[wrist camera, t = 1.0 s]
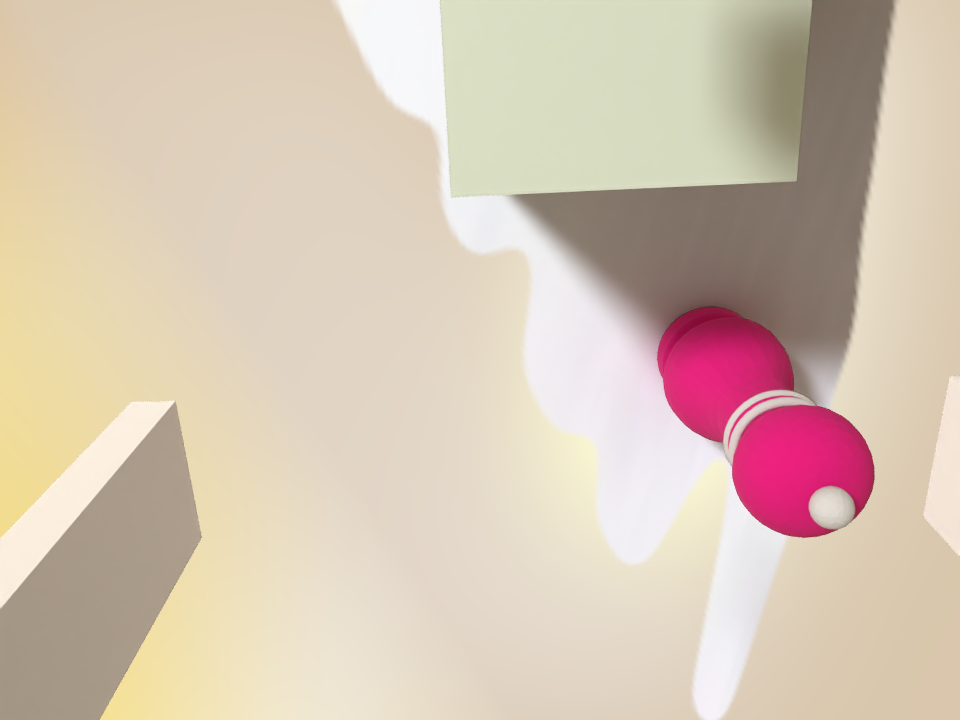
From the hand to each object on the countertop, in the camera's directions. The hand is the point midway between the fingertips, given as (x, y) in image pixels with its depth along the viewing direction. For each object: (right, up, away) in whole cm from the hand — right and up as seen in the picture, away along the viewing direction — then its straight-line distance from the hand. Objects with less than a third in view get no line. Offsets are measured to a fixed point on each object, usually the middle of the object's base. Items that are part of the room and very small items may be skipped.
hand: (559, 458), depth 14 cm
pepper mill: (+13, +2, +38) cm, 40 cm away
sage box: (+3, +18, +32) cm, 37 cm away
